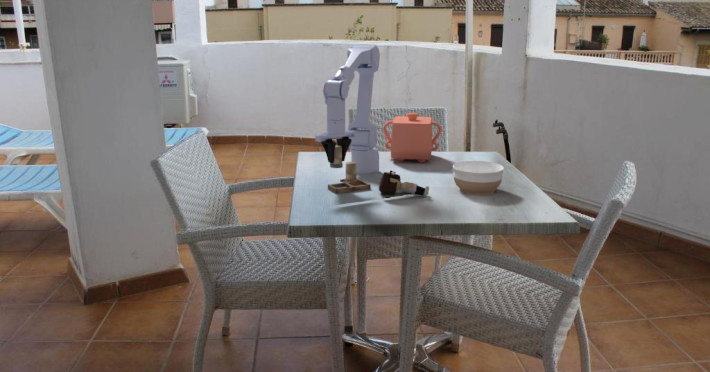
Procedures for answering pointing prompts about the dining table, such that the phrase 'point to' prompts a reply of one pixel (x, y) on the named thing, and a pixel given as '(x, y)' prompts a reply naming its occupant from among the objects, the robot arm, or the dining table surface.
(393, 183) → the figurine
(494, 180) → the bowl
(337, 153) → the beige rounded cylinder
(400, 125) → the lidded jar with handles
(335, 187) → the socket board
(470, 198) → the dining table surface
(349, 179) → the beige short cylinder
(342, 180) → the grey square tray
